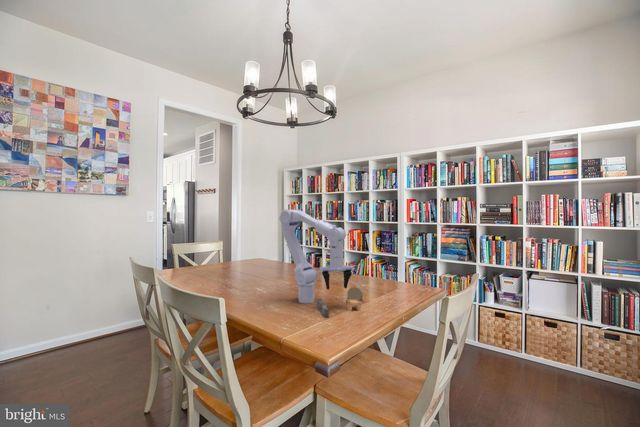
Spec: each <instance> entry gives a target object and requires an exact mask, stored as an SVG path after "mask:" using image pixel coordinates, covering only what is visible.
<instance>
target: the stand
mask: <svg viewBox="0 0 640 427" xmlns="http://www.w3.org/2000/svg"><path fill="white" fill-rule="evenodd" d="M316 300H317V301H316V306H317V308H318V309H319V311H320V312H321V314H322V316H323V318H324V319H330V310H329V308H328V306H327V305H326V304H325V303H324V302H323V300H322V299H321V298H317V299H316Z"/></svg>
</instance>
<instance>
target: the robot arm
mask: <svg viewBox="0 0 640 427" xmlns="http://www.w3.org/2000/svg"><path fill="white" fill-rule="evenodd" d="M278 219H279V221H280V223H281V232H282V234H283V237H284V240H285V243H286V245H287V247H288V250H289V253H290V255H291V257H292V260H293V262H294V265H295V268H294V270H293V273H294V275H295V276H294V279H295V280H294V281H295V282H296V284H297V286H298V292H297V293H298V294H297V298H298V303H301V304H312V303H314V302H315V284H316V281H317V279H318V272H319V273H321V275H322V276H323V279H324V282H325V288H326V290H330V277H331V276H330V275H331V274H330V273H331V272H334V273H335V272H342V273H343V274H342V275H343V288H344V289H347V288H348V285H349V284H348V283H349V280H350V278H351V276H352V275H353V272H354V270H355V268H354V267H355V266H354V265H344V240H345V239H346V235H347V234H346V231H345V230H344V229H343V227H341V226H340V227H336V226H337V225H336V224H332V223H329V222H328V220H326V219H320V220H318V219H316V218H314V217H312V216H311V215H310V214H307V213H306V212H304V211H302V210H301V209H298V208H297V209H283V210H281V212H280V214H279V218H278ZM301 222H302V223H304V224H306V225H309V226H310V227H313V228H314V229H315V232H317V233H318V234H320V235H322V236H324V237H326V238H327V240H328V241H329V265H326V266H319V267H318V268H319V271H318V272H317V270H316V269H315V268H314V266H313V264H312V263H310V262H309V261H308V260H307V258H306V256H305V253H304V250H303V248H302V246H301V243H300V240H299V239H298V237H297V234H296V229H297V228H298V226H299V224H300V223H301Z"/></svg>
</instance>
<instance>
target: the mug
mask: <svg viewBox="0 0 640 427" xmlns="http://www.w3.org/2000/svg"><path fill="white" fill-rule="evenodd" d="M346 296H347V298H348V300H355V299H357V300H358V301H361V300H362V299H363V296H364V293H363V290H362V288H360V287H358V286H351V287H350V288H349V289H348V291H347V295H346Z"/></svg>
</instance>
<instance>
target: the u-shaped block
mask: <svg viewBox="0 0 640 427" xmlns="http://www.w3.org/2000/svg"><path fill="white" fill-rule="evenodd" d="M353 307H354V309H356V311H358V312H359V311H361V300H357V299H355V300H351V299H346V300H345V309H346V310H347V311H348V312H353Z"/></svg>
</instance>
